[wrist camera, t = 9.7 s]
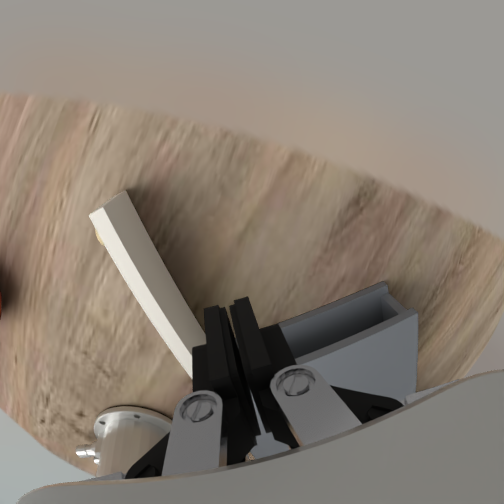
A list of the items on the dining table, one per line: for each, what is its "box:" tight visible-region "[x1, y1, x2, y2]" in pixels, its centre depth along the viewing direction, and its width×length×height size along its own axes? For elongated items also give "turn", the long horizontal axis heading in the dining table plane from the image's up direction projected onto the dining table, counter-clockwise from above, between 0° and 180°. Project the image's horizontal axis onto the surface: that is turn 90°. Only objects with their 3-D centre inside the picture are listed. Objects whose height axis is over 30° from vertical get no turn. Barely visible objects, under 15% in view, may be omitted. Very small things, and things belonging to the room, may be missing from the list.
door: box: [89, 190, 206, 378], centre depth 25 cm, size 18×2×7 cm, turn 22°
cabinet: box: [235, 281, 418, 459], centre depth 32 cm, size 20×14×7 cm
